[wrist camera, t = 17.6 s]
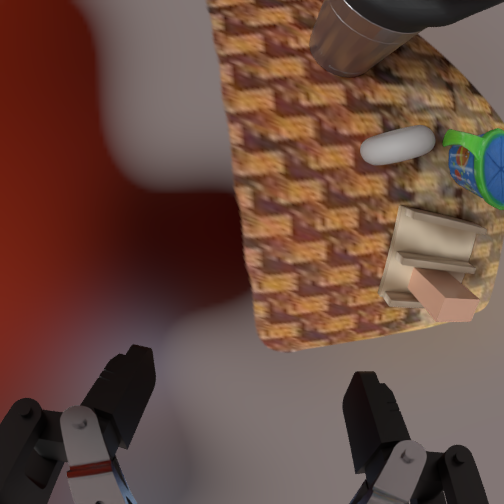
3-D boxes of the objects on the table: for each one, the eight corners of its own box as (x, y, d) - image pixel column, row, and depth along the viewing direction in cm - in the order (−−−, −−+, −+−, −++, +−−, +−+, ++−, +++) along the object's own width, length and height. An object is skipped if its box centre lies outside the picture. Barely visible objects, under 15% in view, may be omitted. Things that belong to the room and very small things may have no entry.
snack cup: (499, 166, 33) (538, 174, 23) (476, 216, 36) (515, 233, 26) (443, 105, 31) (483, 99, 21) (416, 160, 34) (456, 165, 25)
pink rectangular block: (413, 267, 38) (445, 297, 29) (446, 271, 38) (479, 299, 29) (407, 288, 40) (435, 321, 30) (440, 290, 40) (470, 321, 30)
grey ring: (407, 124, 33) (445, 120, 23) (415, 147, 34) (453, 149, 24) (347, 142, 35) (372, 140, 25) (355, 166, 36) (383, 172, 26)
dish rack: (399, 205, 37) (411, 211, 33) (474, 222, 36) (488, 229, 32) (377, 292, 42) (386, 306, 38) (451, 298, 41) (463, 309, 37)
